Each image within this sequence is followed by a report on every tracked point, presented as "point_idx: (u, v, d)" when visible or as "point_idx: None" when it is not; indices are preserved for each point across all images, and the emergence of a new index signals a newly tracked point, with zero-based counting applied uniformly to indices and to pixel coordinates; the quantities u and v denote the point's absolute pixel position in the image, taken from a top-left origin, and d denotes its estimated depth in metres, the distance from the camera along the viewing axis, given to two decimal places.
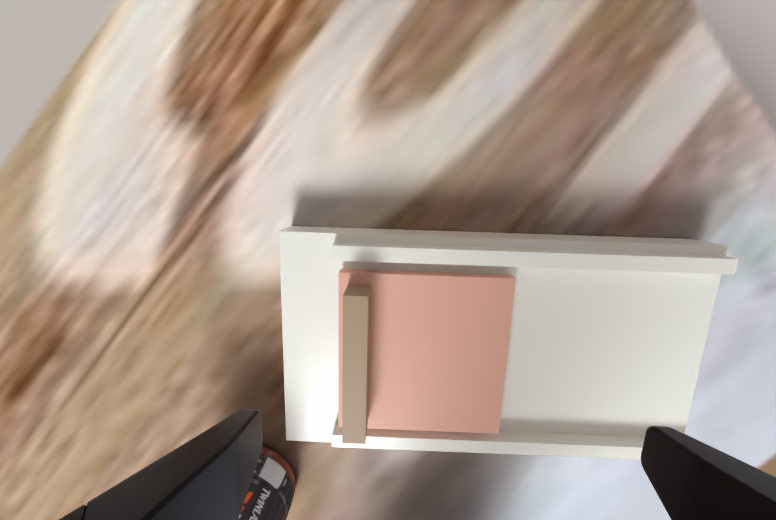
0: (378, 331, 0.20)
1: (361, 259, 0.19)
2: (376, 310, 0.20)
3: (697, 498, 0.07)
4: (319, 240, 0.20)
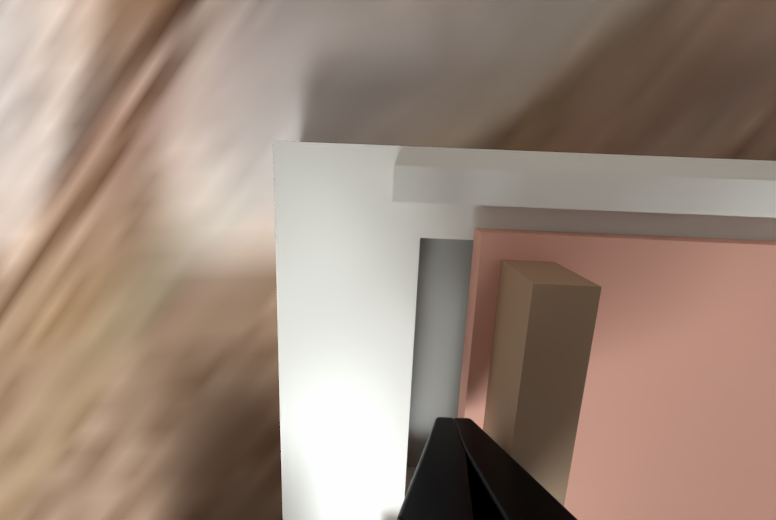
0: None
1: (461, 199, 0.08)
2: None
3: None
4: (361, 162, 0.09)
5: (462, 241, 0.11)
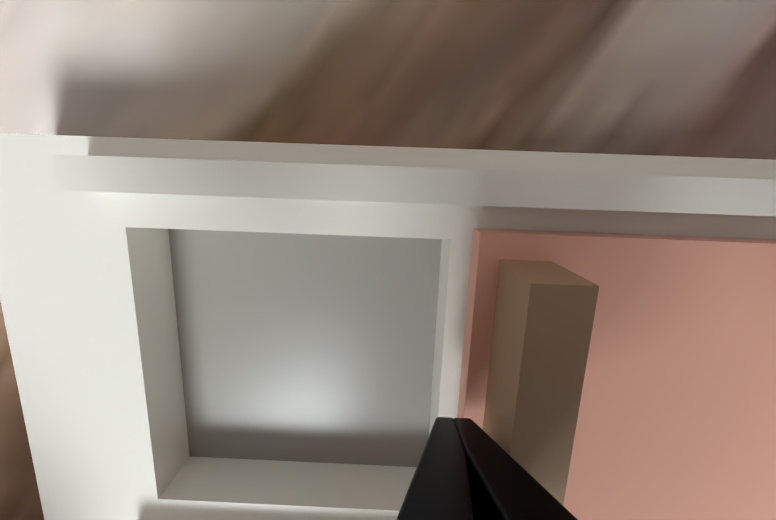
0: None
1: (123, 188, 0.08)
2: None
3: None
4: (55, 152, 0.09)
5: (214, 232, 0.11)
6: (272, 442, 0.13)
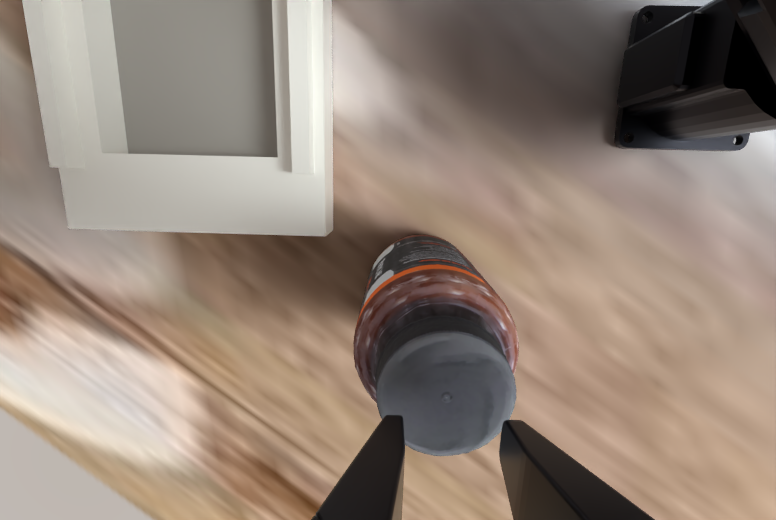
0: None
1: (59, 132, 0.17)
2: None
3: (523, 490, 0.07)
4: (69, 185, 0.18)
5: (131, 126, 0.19)
6: (272, 97, 0.19)
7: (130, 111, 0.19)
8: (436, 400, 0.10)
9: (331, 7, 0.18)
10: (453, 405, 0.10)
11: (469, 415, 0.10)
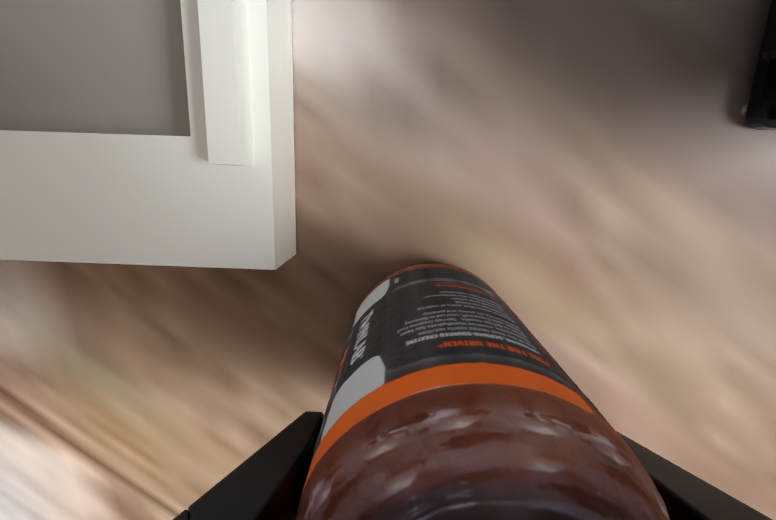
0: None
1: None
2: None
3: None
4: None
5: None
6: None
7: None
8: None
9: None
10: None
11: None
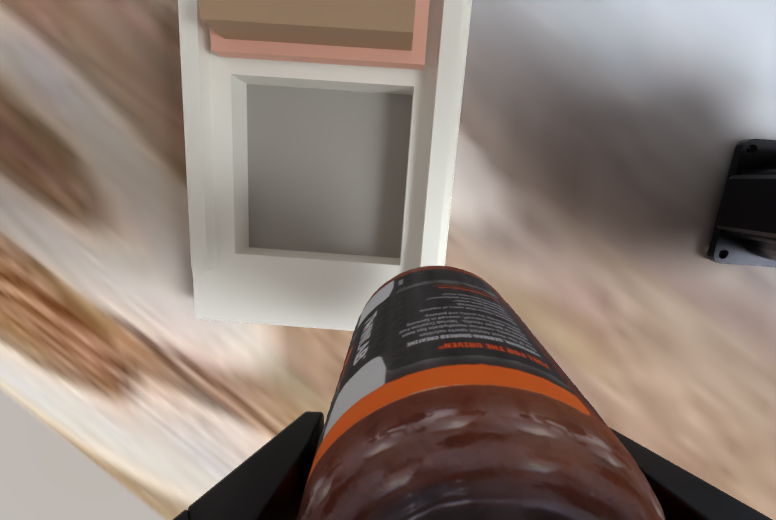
0: None
1: (203, 239, 0.18)
2: None
3: None
4: (201, 280, 0.19)
5: (254, 222, 0.20)
6: (390, 202, 0.20)
7: (255, 208, 0.20)
8: None
9: None
10: None
11: None
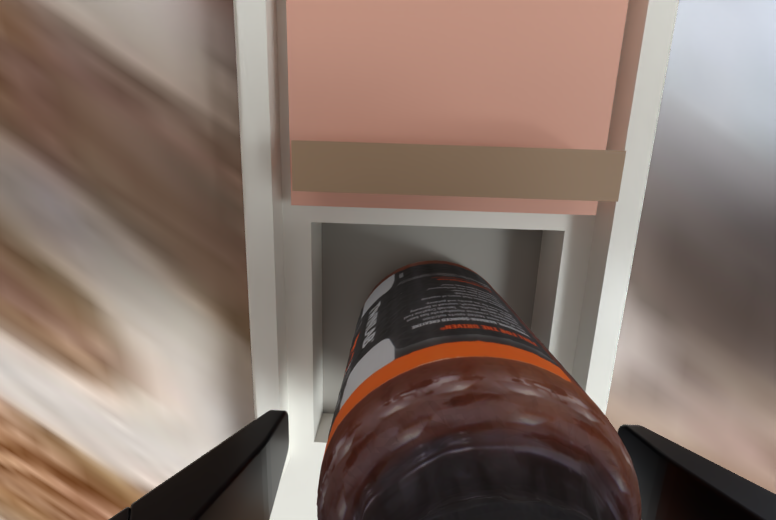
0: (399, 133, 0.11)
1: None
2: (358, 137, 0.11)
3: (663, 496, 0.07)
4: None
5: (330, 383, 0.16)
6: None
7: (331, 367, 0.15)
8: None
9: None
10: None
11: None
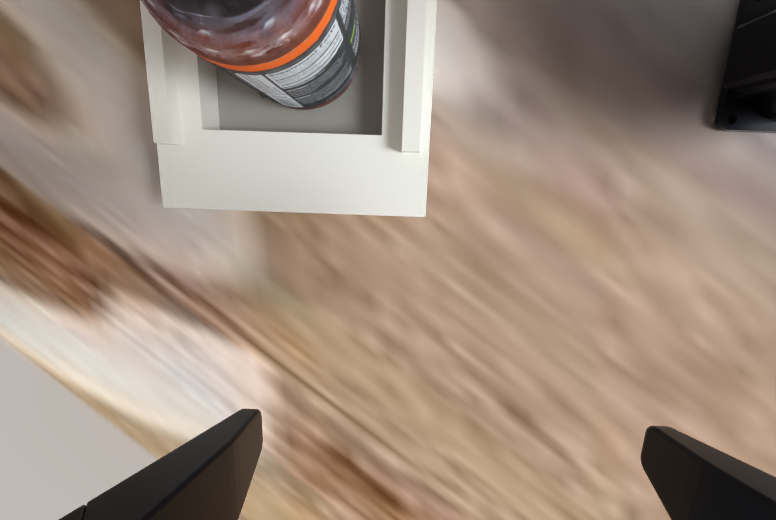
0: None
1: (165, 106, 0.16)
2: None
3: (697, 498, 0.07)
4: (167, 162, 0.18)
5: (224, 104, 0.19)
6: (370, 75, 0.18)
7: (224, 89, 0.19)
8: None
9: None
10: None
11: None
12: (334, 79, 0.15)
